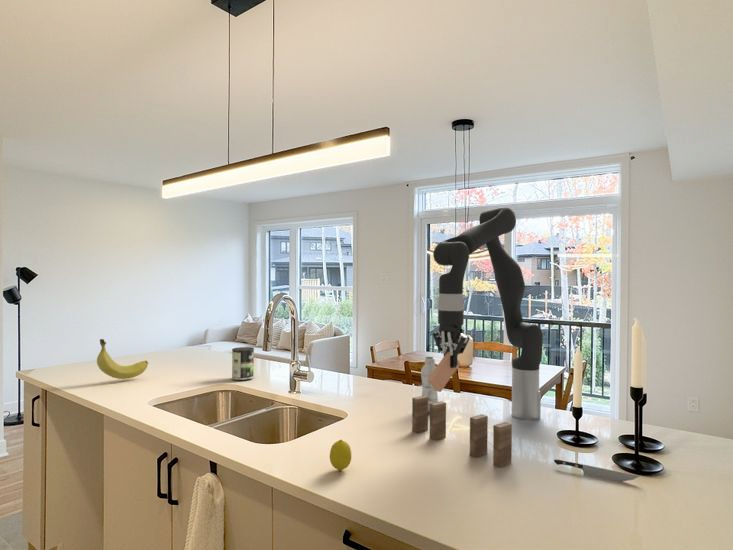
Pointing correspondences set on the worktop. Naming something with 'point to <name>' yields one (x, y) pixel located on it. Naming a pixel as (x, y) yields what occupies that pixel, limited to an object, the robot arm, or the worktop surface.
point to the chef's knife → (599, 471)
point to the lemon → (340, 455)
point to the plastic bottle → (426, 386)
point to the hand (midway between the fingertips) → (450, 366)
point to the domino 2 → (442, 373)
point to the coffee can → (242, 363)
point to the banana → (118, 366)
